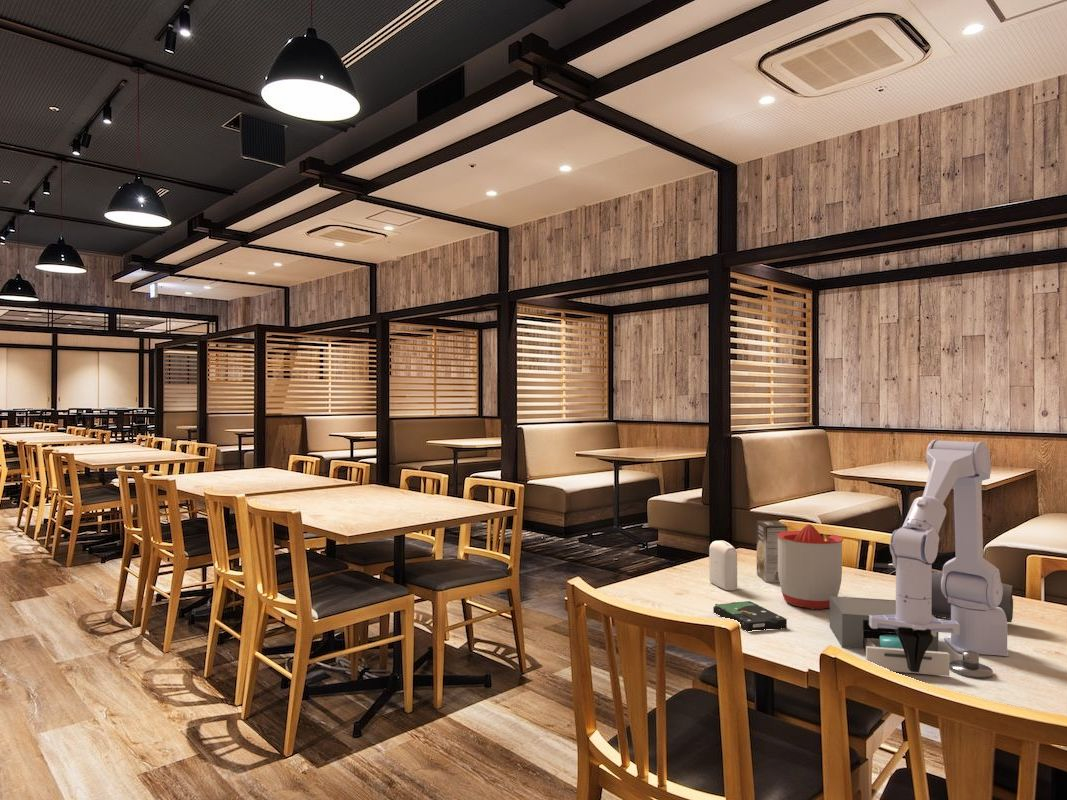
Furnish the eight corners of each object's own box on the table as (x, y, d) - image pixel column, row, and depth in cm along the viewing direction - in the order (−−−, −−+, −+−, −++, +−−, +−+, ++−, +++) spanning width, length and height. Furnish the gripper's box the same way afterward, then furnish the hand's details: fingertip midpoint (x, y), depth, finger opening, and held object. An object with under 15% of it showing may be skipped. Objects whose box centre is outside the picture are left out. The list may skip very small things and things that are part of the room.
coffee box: (755, 574, 204) (755, 520, 204) (777, 574, 204) (777, 520, 204) (765, 582, 195) (765, 525, 195) (788, 583, 195) (788, 525, 195)
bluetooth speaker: (896, 613, 167) (896, 572, 167) (903, 604, 175) (903, 565, 175) (1010, 633, 153) (1011, 587, 153) (1013, 622, 161) (1013, 579, 161)
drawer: (922, 647, 143) (922, 628, 143) (949, 676, 128) (949, 654, 128) (849, 642, 146) (849, 622, 146) (867, 669, 131) (867, 648, 131)
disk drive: (787, 631, 156) (749, 611, 170) (788, 618, 156) (749, 599, 170) (747, 635, 153) (712, 614, 167) (747, 622, 153) (712, 602, 167)
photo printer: (707, 582, 196) (707, 538, 196) (721, 581, 197) (721, 537, 197) (724, 591, 186) (725, 545, 186) (739, 590, 187) (739, 544, 187)
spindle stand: (983, 666, 134) (983, 648, 134) (999, 680, 127) (999, 661, 127) (943, 663, 135) (943, 645, 135) (956, 676, 128) (956, 657, 128)
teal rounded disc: (906, 648, 140) (906, 635, 140) (914, 657, 134) (914, 644, 134) (876, 646, 141) (876, 633, 141) (884, 655, 135) (884, 642, 135)
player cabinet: (917, 633, 153) (917, 601, 153) (938, 655, 139) (938, 620, 139) (829, 627, 157) (829, 595, 157) (842, 647, 143) (842, 613, 143)
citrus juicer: (855, 602, 176) (856, 523, 176) (827, 616, 164) (827, 532, 164) (795, 590, 187) (796, 516, 188) (765, 603, 175) (765, 523, 175)
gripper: (875, 598, 124) (875, 674, 124) (966, 604, 121) (966, 682, 121) (866, 588, 131) (866, 660, 131) (951, 593, 128) (951, 667, 128)
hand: (913, 670), depth 126 cm, fingers closed
